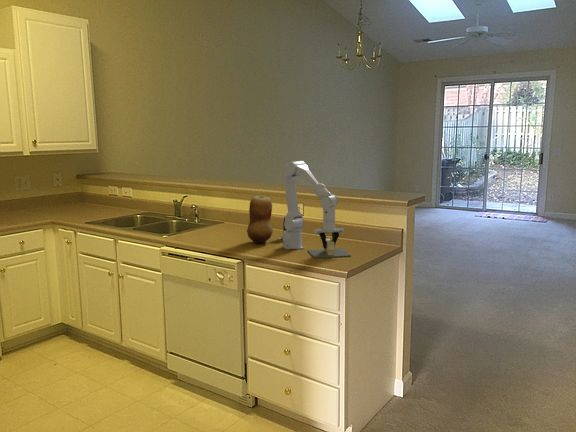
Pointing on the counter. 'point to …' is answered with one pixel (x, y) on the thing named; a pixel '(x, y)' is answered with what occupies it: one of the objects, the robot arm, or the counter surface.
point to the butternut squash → (260, 219)
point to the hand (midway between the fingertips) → (328, 247)
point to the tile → (330, 247)
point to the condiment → (283, 229)
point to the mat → (322, 254)
